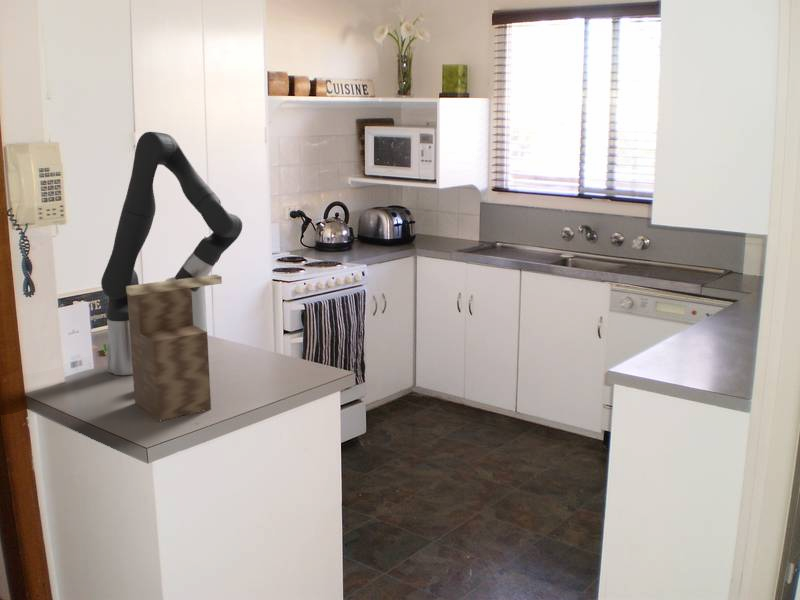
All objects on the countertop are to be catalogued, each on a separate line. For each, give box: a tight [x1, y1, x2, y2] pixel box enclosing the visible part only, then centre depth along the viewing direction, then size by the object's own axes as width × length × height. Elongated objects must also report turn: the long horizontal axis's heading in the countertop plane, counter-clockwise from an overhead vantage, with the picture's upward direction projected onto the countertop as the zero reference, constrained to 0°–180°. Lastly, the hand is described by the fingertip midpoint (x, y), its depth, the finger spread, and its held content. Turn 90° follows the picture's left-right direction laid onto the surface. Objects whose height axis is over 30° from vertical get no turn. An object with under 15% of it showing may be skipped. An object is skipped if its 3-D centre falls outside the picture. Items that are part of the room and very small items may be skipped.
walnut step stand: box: [127, 288, 212, 422], centre depth 232 cm, size 15×17×32 cm
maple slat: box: [126, 274, 223, 296], centre depth 235 cm, size 26×4×2 cm, turn 127°
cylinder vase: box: [164, 276, 208, 333], centre depth 281 cm, size 12×12×25 cm
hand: (163, 316), depth 248 cm, fingers open, 8 cm apart
